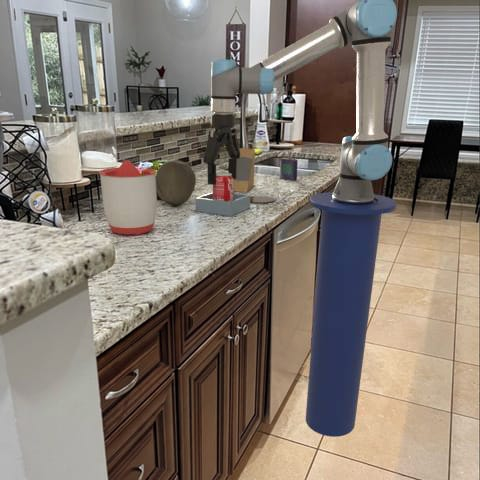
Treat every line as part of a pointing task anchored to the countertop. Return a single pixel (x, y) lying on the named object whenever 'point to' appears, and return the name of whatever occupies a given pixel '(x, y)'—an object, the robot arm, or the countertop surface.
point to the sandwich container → (245, 170)
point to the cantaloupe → (175, 182)
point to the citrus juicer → (129, 198)
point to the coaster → (261, 199)
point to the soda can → (223, 187)
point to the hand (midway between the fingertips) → (222, 181)
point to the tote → (222, 204)
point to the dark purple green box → (288, 168)
